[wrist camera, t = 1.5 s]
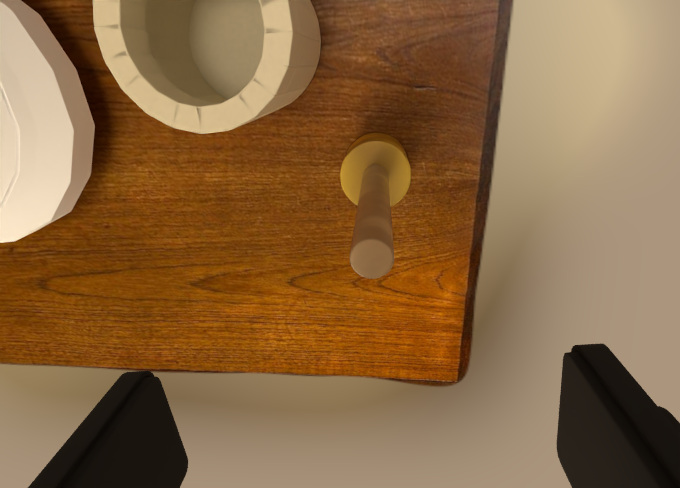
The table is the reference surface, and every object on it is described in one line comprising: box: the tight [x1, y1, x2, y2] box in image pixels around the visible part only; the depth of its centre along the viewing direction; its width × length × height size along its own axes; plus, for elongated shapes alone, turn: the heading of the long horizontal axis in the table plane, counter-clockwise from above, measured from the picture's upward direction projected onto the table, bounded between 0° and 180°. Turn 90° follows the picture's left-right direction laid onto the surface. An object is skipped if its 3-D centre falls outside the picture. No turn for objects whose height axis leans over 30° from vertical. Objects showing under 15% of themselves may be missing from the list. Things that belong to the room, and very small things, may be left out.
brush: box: [340, 133, 411, 279], centre depth 25 cm, size 5×5×18 cm
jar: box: [93, 0, 321, 134], centre depth 26 cm, size 10×10×11 cm
